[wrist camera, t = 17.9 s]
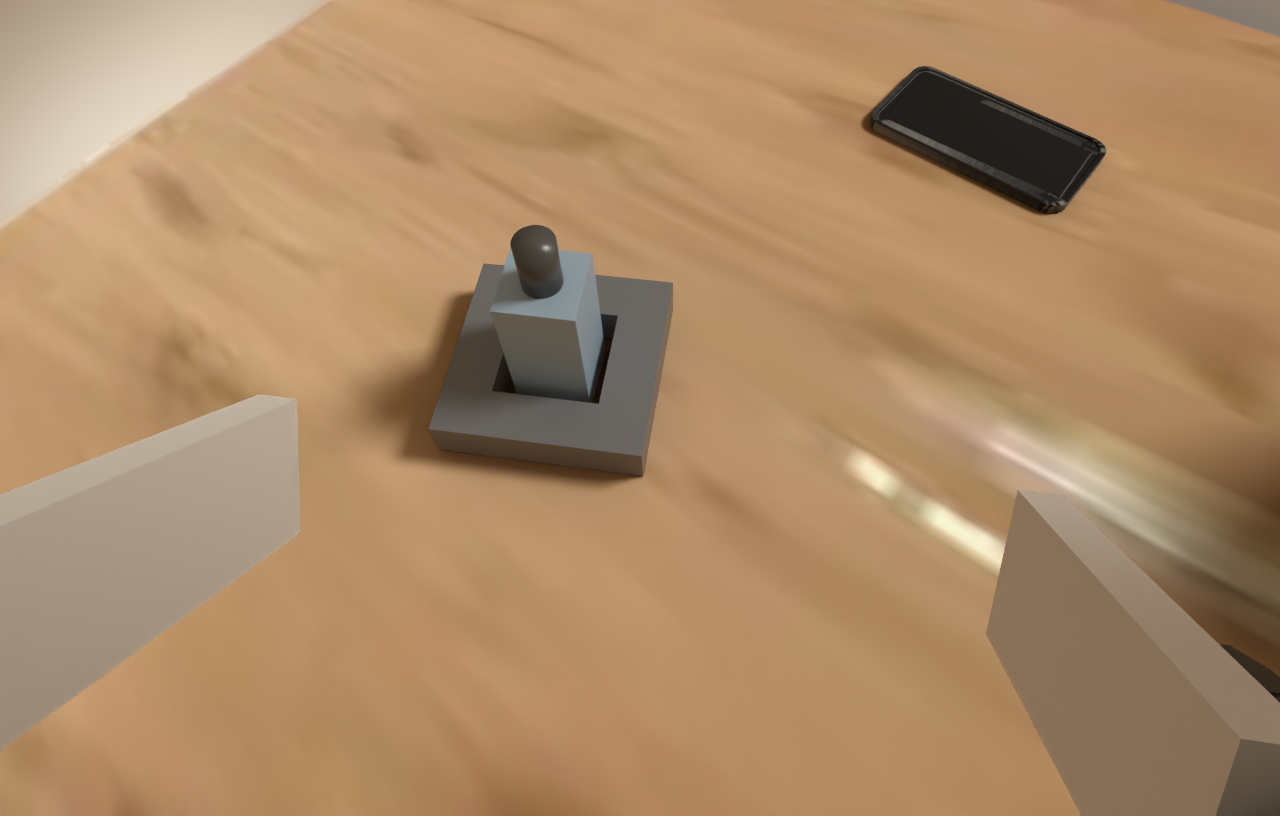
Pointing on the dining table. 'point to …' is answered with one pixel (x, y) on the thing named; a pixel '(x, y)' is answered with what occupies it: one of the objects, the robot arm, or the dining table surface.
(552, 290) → the connector plug
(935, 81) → the phone
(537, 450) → the frame
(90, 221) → the dining table surface
